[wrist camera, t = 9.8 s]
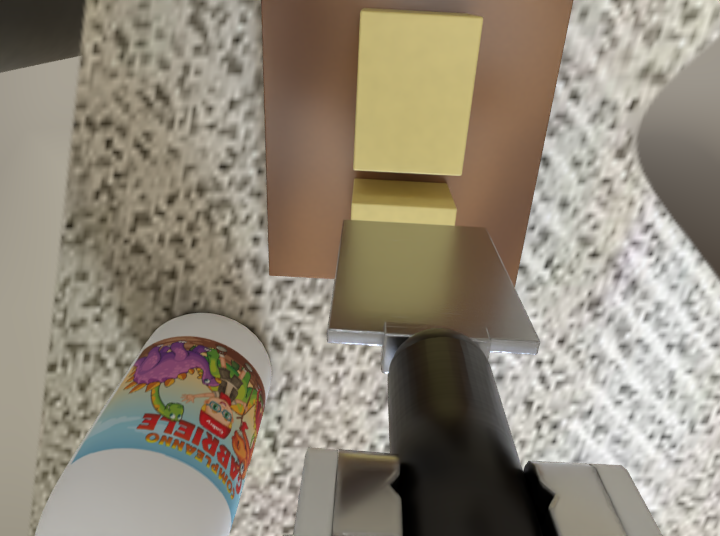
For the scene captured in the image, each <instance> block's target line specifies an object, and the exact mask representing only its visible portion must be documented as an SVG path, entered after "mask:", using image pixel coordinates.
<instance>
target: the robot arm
mask: <svg viewBox="0 0 720 536" xmlns="http://www.w3.org/2000/svg"><path fill="white" fill-rule="evenodd" d="M523 473H524V477H525V480H526V483H527V486H528V489H529V493H530V496H531V499H532V502H533V506H534V509H535V512H536V515H537V518H538V522H539V525H540V528H541V531H542V535H543V536H663V535H662V534H661V532H660V530H659V528H658V526H657V524H656V523H655V521H654V519H653V517H652V515H651V513H650V511H649V510H648V508H647V506H646V504H645V502H644V500H643V498H642V497H641V495H640V493H639V491H638V489H637V487H636V486H635V484H634V482H633V480H632V478H631V476H630V474H629V473H628V471H627V470H626V469H625V468H624V467H623V466H622V465H606V464H586V463H564V462H542V461H528V463H527V464H526V465H525V467H524V471H523ZM399 477H400V466H399V455H398V454H391V453H379V452H366V451H354V450H342V449H339V455H338V450H334V449H322V448H310V447H308V449H307V452H306V455H305V461H304V467H303V474H302V480H301V487H300V494H299V500H298V507H297V513H296V520H295V526H294V533H293V535H283V536H403V529H402V504H401V497H400V496H399V495H398V487H399Z"/></svg>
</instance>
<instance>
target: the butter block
mask: <svg viewBox="0 0 720 536" xmlns="http://www.w3.org/2000/svg"><path fill="white" fill-rule="evenodd" d="M482 25H483V17H481V16H476V15H472V14H467V13H448V12H430V11H412V10H394V9H376V8H363V9H362V10H361V12H360V26H359V48H358V71H357V93H356V115H355V138H354V160H353V169H354V170H360V171H378V172H396V173H415V174H433V175H451V176H461V175H462V169H463V162H464V155H465V148H466V140H467V133H468V126H469V119H470V112H471V104H472V97H473V90H474V83H475V75H476V68H477V61H478V54H479V47H480V39H481V32H482Z"/></svg>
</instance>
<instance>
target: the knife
mask: <svg viewBox="0 0 720 536" xmlns="http://www.w3.org/2000/svg"><path fill="white" fill-rule="evenodd" d="M327 342H328V343H341V344H358V345H376V346H382V351H381V371H382V373H388V410H389V441H390V453H391V454H398V455H399V466H400V477H399V487H398V495H399V496H400V497H401V504H402V529H403V536H543V535H542V531H541V528H540V525H539V522H538V518H537V515H536V512H535V509H534V506H533V502H532V499H531V496H530V493H529V489H528V486H527V483H526V480H525V477H524V473H523V470H522V467H521V464H520V460H519V457H518V454H517V451H516V447H515V444H514V441H513V438H512V435H511V431H510V428H509V425H508V422H507V418H506V415H505V412H504V409H503V406H502V402H501V399H500V396H499V393H498V389H497V386H496V383H495V380H494V377H493V373H492V370H491V367H490V364H489V362H488V358H489V353H490V352H500V353H517V354H535V355H536V354H537V353H538V349H539V345H540V340H539V338H538V336H537V334H536V332H535V330H534V328H533V325H532V323H531V321H530V319H529V317H528V315H527V313H526V311H525V309H524V307H523V304H522V302H521V300H520V298H519V296H518V294H517V292H516V290H515V288H514V286H513V283H512V281H511V279H510V277H509V275H508V273H507V271H506V269H505V267H504V265H503V262H502V260H501V258H500V256H499V254H498V252H497V250H496V248H495V246H494V243H493V241H492V239H491V237H490V235H489V233H488V231H487V229H486V228H485V227H469V226H451V225H433V224H416V223H398V222H380V221H363V220H345V219H344V220H343V224H342V231H341V238H340V245H339V252H338V259H337V266H336V273H335V280H334V287H333V294H332V301H331V308H330V315H329V322H328V329H327Z"/></svg>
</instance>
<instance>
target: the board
mask: <svg viewBox="0 0 720 536" xmlns="http://www.w3.org/2000/svg"><path fill="white" fill-rule="evenodd" d="M572 4H573V0H261V12H262V46H263V80H264V113H265V147H266V180H267V214H268V248H269V275H270V276H289V277H307V278H326V279H335V273H336V266H337V259H338V252H339V245H340V238H341V231H342V224H343V220H344V219H345V220H351V205H352V195H353V185H354V179H356V178H357V179H375V180H394V181H412V182H430V183H446V184H447V185H448V187H449V190H450V193H451V195H452V198H453V200H454V203H455V206H456V208H457V213H456V220H455V226H469V227H485V228H486V229H487V231H488V233H489V235H490V237H491V239H492V241H493V243H494V246H495V248H496V250H497V252H498V254H499V256H500V258H501V260H502V262H503V265H504V267H505V269H506V271H507V273H508V275H509V277H510V279H511V281H512V283H513V286H514V288H515V284H516V279H517V274H518V269H519V264H520V259H521V254H522V249H523V244H524V239H525V235H526V230H527V225H528V220H529V215H530V210H531V205H532V200H533V195H534V190H535V185H536V181H537V176H538V171H539V166H540V161H541V156H542V151H543V146H544V141H545V136H546V131H547V127H548V122H549V117H550V112H551V107H552V102H553V97H554V92H555V87H556V82H557V77H558V73H559V68H560V63H561V58H562V53H563V48H564V43H565V38H566V33H567V28H568V23H569V19H570V14H571V9H572ZM363 8H376V9H394V10H412V11H430V12H448V13H467V14H472V15H476V16H481V17H483V25H482V32H481V39H480V47H479V54H478V61H477V68H476V75H475V83H474V90H473V97H472V104H471V112H470V119H469V126H468V133H467V140H466V148H465V155H464V162H463V169H462V175H461V176H451V175H433V174H415V173H396V172H378V171H360V170H354V169H353V160H354V138H355V115H356V93H357V71H358V48H359V26H360V12H361V10H362V9H363Z"/></svg>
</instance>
